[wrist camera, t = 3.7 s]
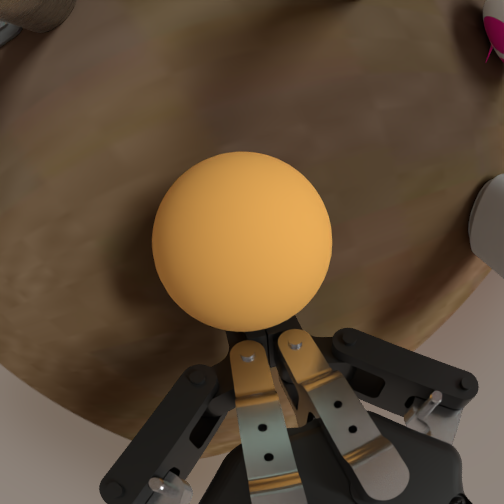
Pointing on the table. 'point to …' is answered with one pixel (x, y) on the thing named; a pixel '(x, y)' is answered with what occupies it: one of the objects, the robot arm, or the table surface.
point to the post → (35, 13)
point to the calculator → (8, 32)
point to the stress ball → (494, 25)
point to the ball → (242, 241)
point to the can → (489, 224)
